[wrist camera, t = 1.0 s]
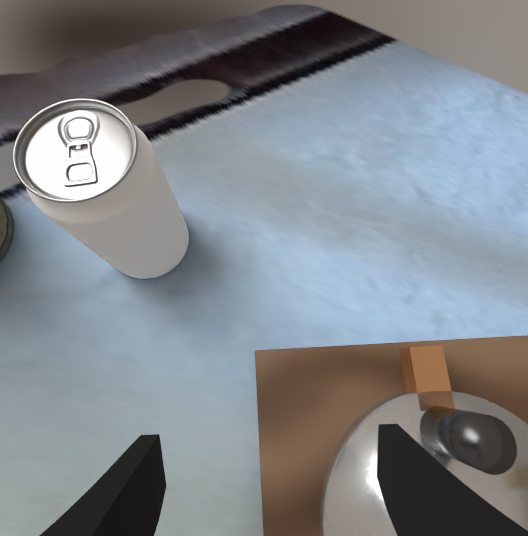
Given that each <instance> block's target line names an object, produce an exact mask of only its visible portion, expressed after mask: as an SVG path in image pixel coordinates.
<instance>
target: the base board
mask: <svg viewBox="0 0 528 536" xmlns="http://www.w3.org/2000/svg"><path fill="white" fill-rule="evenodd" d="M437 345H442V346H443V351H444V356H445V361H446V366H447V371H448V376H449V381H450V386H451V391H453V392H460V393H466V394H470V395H473V396H477V397H480V398H483V399H485V400H488V401H490V402H492V403H495V404H497V405H499V406H501V407H502V408H504V409H506V410H508V411H509V412H511V413H513V414H514V415H515V416H517V417H518V418H520V419H521V420H522V421H524V422H525V423H526V424H528V336H511V337H492V338H474V339H456V340H438V341H420V342H402V343H384V344H366V345H348V346H330V347H312V348H293V349H275V350H257V351H255V360H256V381H257V403H258V424H259V445H260V466H261V488H262V509H263V530H264V536H320V503H321V493H322V488H323V483H324V478H325V475H326V472H327V469H328V466H329V463H330V460H331V458H332V456H333V454H334V451H335V449H336V447H337V445H338V444H339V442H340V440H341V439H342V437H343V436H344V434H345V433H346V431H347V430H348V429H349V428H350V427H351V425H352V424H353V423H354V422H355V421H356V420H357V419H358V418H359V417H360V416H361V415H362V414H363V413H365V412H366V411H367V410H368V409H370V408H371V407H373V406H374V405H376V404H377V403H379V402H380V401H383V400H385V399H387V398H389V397H391V396H394V395H397V394H400V393H404V392H406V389H405V383H404V377H403V371H402V365H401V359H400V353H399V349H400V348H406V347H419V346H437Z"/></svg>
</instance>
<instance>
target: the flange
mask: <svg viewBox="0 0 528 536" xmlns="http://www.w3.org/2000/svg"><path fill="white" fill-rule="evenodd" d="M399 353H400V359H401V365H402V371H403V377H404V383H405V389H406V392H404V393H400V394H397V395H394V396H391V397H389V398H387V399H385V400H383V401H380V402H379V403H377V404H376V405H374V406H373V407H371V408H370V409H368V410H367V411H366V412H365V413H363V414H362V415H361V416H360V417H359V418H358V419H357V420H356V421H355V422H354V423H353V424H352V425H351V427H350V428H349V429H348V430H347V431H346V433H345V434H344V436H343V437H342V439H341V440H340V442H339V444H338V445H337V447H336V449H335V451H334V454H333V456H332V458H331V460H330V463H329V466H328V469H327V472H326V475H325V478H324V483H323V488H322V493H321V503H320V536H397V534H396V531H395V529H394V527H393V524H392V522H391V519H390V517H389V515H388V512H387V509H386V506H385V503H384V500H383V497H382V493H381V490H380V487H379V483H378V480H377V476H376V475H377V450H378V426H379V424H398V425H399V426H400V427H401V428H403V429H404V430H405V431H406V432H407V433H408V434H409V435H410V436H411V437H412V438H413V439H414V440H415V441H417V442H418V443H419V444H420V445H421V446H422V447H423V448H424V449H425V450H426V451H427V452H428V453H430V454H431V455H432V456H433V457H434V458H435V459H436V460H437V461H438V462H440V463H441V464H442V465H443V466H444V467H445V468H446V469H448V470H449V471H450V472H451V473H452V474H453V475H455V476H456V477H457V478H458V479H459V480H461V481H462V482H463V483H464V484H465V485H467V486H468V487H469V488H470V489H472V490H473V491H474V492H475V493H477V494H478V495H479V496H480V497H482V498H483V499H484V500H486V501H487V502H488V503H489V504H491V505H492V506H493V507H495V508H496V509H497V510H499V511H500V512H502V513H503V514H504V515H506V516H507V517H509V518H510V519H512V520H513V521H514V522H516V523H517V524H519V525H520V526H521V527H523V528H524V529H526V530H527V531H528V424H526V423H525V422H524V421H522V420H521V419H520V418H518V417H517V416H515V415H514V414H513V413H511V412H509V411H508V410H506V409H504V408H502V407H501V406H499V405H497V404H495V403H492V402H490V401H488V400H485V399H483V398H480V397H477V396H473V395H470V394H466V393H460V392H453V391H451V386H450V381H449V376H448V371H447V366H446V361H445V356H444V351H443V346H442V345H437V346H419V347H406V348H400V349H399Z"/></svg>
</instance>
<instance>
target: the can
mask: <svg viewBox="0 0 528 536" xmlns="http://www.w3.org/2000/svg"><path fill="white" fill-rule="evenodd" d="M13 165H14V169H15V172H16V174H17V176H18V178H19V180H20V181H21V182H22V184H23V185H24V186H25V187H26V189H27V191H28V194H29V196H30V198H31V199H32V201H33V202H34V204H35V205H36V206H37V207H38V208H39V209H40V210H41V211H42V212H43V213H44V214H45V215H47V216H48V217H49V218H50V219H51V220H53V221H54V222H55V223H57V224H58V225H59V226H60V227H62V228H63V229H64V230H66V231H67V232H68V233H70V234H71V235H72V236H73V237H75V238H76V239H77V240H79V241H80V242H81V243H83V244H84V245H85V246H87V247H88V248H89V249H91V250H92V251H93V252H94V253H96V254H97V255H98V256H100V257H101V258H102V259H104V260H105V261H106V262H108V263H109V264H110V265H112V266H113V267H115V268H116V269H117V270H119V271H120V272H122V273H124V274H125V275H128V276H130V277H134V278H139V279H149V278H155V277H158V276H161V275H164V274H166V273H167V272H169V271H171V270H172V269H173V268H174V267H176V266H177V265H178V264H179V262H180V261H181V260H182V258H183V257H184V255H185V253H186V250H187V247H188V243H189V233H188V228H187V225H186V222H185V220H184V217H183V215H182V213H181V210H180V208H179V206H178V203H177V201H176V199H175V196H174V194H173V192H172V189H171V187H170V185H169V183H168V180H167V178H166V176H165V174H164V171H163V169H162V167H161V164H160V162H159V160H158V158H157V156H156V153H155V151H154V149H153V147H152V145H151V143H150V142H149V140H148V139H147V137H146V136H145V135H144V133H143V132H142V131H141V130H140V129H139V128H138V127H136V126H135V125H134V124H132V122H131V121H130V119H129V118H128V117H127V116H126V115H125V114H124V113H123V112H122V111H121V110H120V109H118V108H117V107H115V106H113V105H111V104H109V103H107V102H104V101H101V100H96V99H89V98H77V99H69V100H64V101H61V102H58V103H55V104H52V105H50V106H48V107H46V108H44V109H43V110H41V111H39V112H38V113H37V114H35V115H34V116H33V117H32V118H31V119H30V120H29V121H28V122H27V123H26V124H25V125H24V126H23V128H22V129H21V131H20V132H19V134H18V136H17V138H16V141H15V144H14V148H13Z"/></svg>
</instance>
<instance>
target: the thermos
mask: <svg viewBox="0 0 528 536" xmlns="http://www.w3.org/2000/svg"><path fill="white" fill-rule="evenodd" d="M13 227H14V222H13V219H12V215H11V212H10V209H9V208H8V206H7V205H6V204H5V203H4V202H3V200H2V199H1V198H0V261H1V260H2V259H3V257H4V256H5V255H6V253H7V250H8V248H9V246H10V243H11V241H12V239H13Z"/></svg>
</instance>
